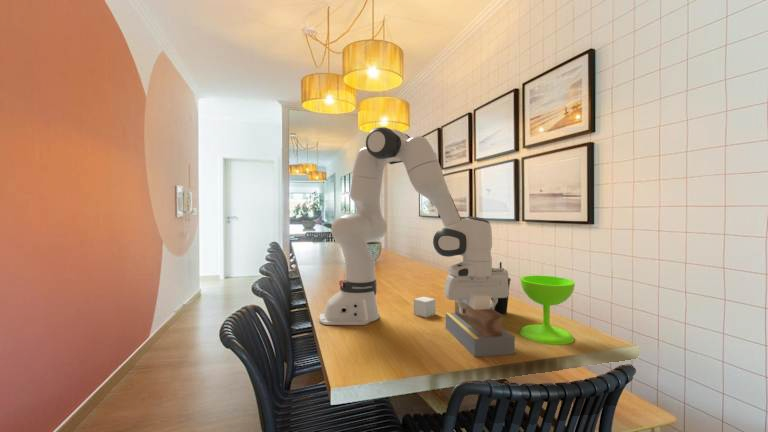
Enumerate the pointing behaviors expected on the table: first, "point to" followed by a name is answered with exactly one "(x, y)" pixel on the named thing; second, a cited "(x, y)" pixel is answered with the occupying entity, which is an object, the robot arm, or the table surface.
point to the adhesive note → (424, 306)
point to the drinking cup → (502, 301)
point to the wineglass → (547, 307)
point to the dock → (479, 338)
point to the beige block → (479, 301)
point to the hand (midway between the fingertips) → (476, 312)
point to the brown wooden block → (482, 320)
